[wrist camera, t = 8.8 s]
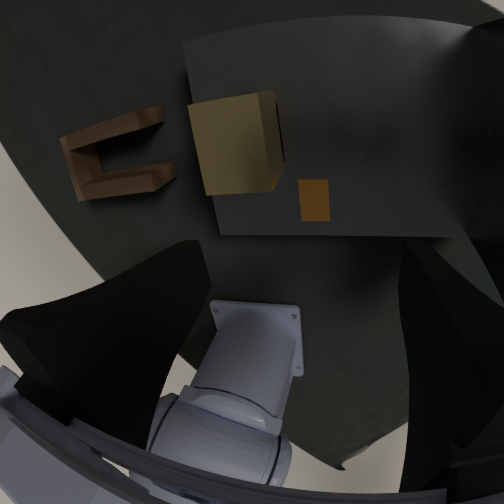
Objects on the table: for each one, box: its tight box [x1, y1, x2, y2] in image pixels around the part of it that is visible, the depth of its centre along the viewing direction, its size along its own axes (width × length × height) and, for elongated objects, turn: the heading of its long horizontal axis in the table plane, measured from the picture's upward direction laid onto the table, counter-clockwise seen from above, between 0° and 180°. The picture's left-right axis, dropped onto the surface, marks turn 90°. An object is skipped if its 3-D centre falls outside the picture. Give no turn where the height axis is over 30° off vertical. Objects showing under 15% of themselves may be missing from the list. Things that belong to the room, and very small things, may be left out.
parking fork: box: [60, 105, 177, 201], centre depth 20 cm, size 5×8×3 cm
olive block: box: [187, 90, 285, 196], centre depth 15 cm, size 4×3×6 cm
